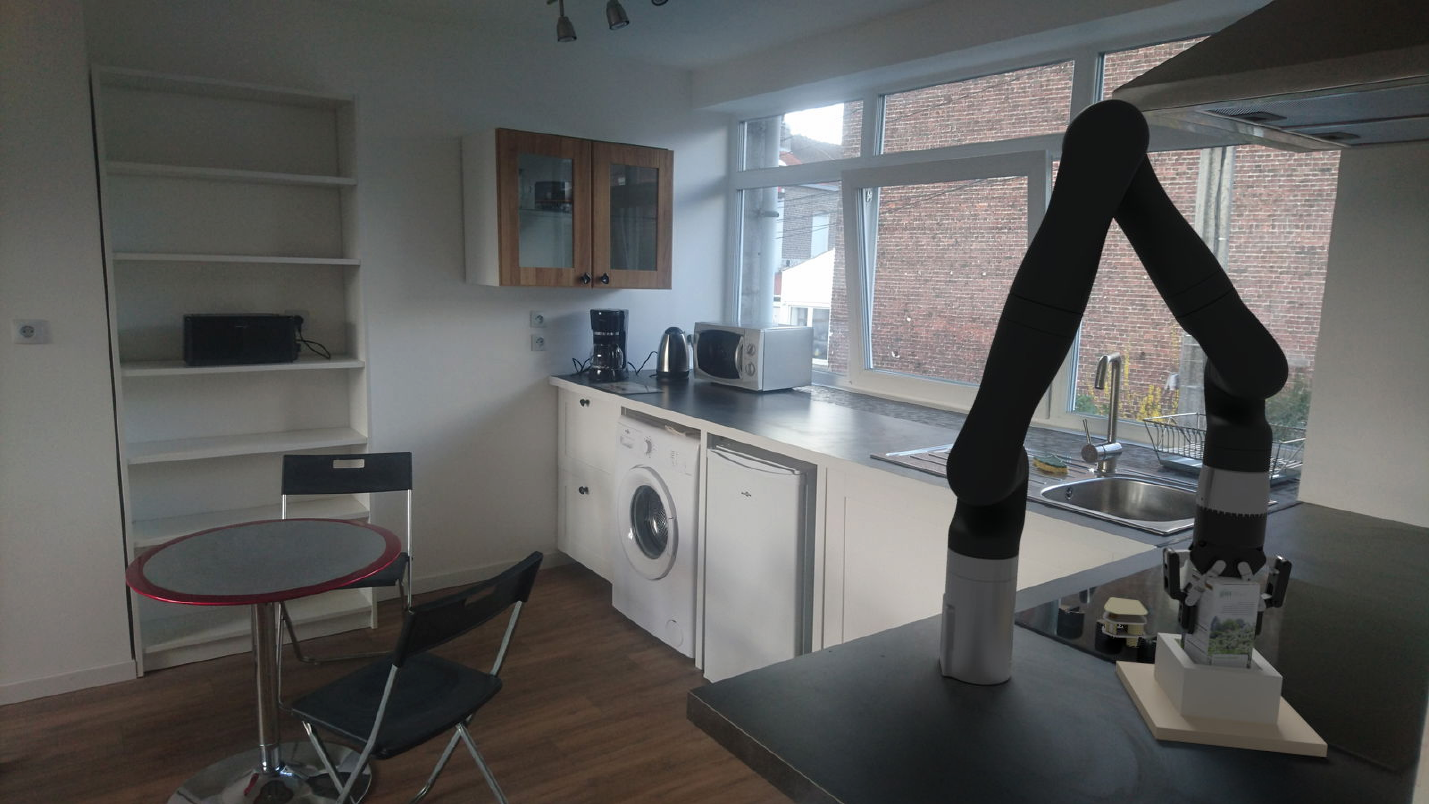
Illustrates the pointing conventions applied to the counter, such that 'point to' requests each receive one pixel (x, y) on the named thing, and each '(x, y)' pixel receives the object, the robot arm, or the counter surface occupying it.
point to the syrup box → (1223, 623)
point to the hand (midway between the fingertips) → (1218, 634)
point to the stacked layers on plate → (1125, 619)
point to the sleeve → (1216, 703)
